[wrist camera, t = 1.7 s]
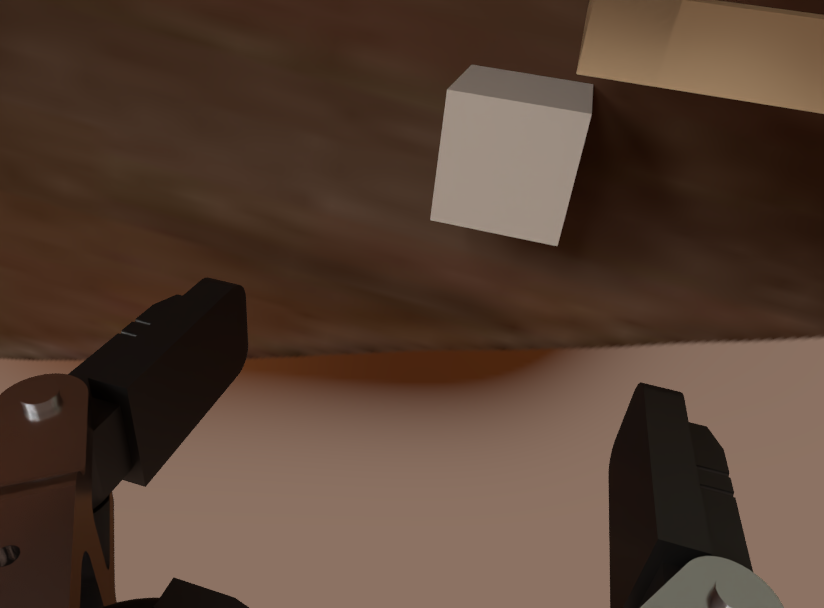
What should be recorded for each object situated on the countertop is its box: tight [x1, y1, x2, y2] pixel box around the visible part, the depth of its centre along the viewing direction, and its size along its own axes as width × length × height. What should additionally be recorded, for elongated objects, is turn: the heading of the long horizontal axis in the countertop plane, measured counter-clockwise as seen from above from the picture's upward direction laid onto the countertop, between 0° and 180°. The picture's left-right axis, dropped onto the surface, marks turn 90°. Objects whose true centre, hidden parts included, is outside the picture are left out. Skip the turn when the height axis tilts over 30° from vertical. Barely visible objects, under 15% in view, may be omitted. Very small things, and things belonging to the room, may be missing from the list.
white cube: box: [430, 65, 593, 246], centre depth 24 cm, size 5×5×5 cm
